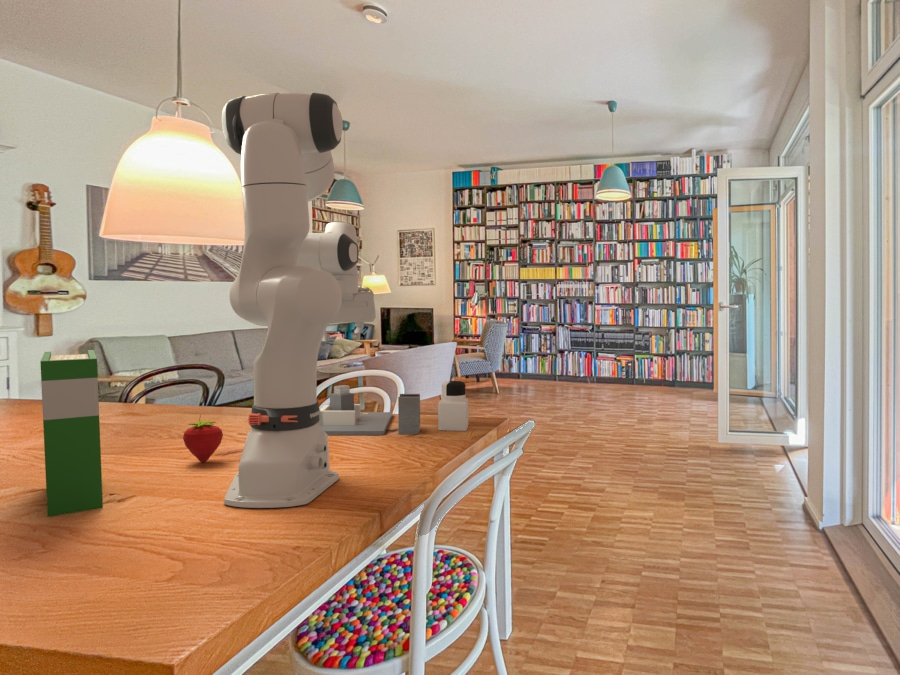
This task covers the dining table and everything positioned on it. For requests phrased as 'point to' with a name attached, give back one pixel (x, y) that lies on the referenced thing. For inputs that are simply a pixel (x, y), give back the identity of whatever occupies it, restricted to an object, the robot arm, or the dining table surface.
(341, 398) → the connector plug
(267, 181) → the robot arm
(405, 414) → the dark grey upright block
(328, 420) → the end holder
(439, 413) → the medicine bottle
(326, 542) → the dining table surface
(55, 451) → the hardback book
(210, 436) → the strawberry
